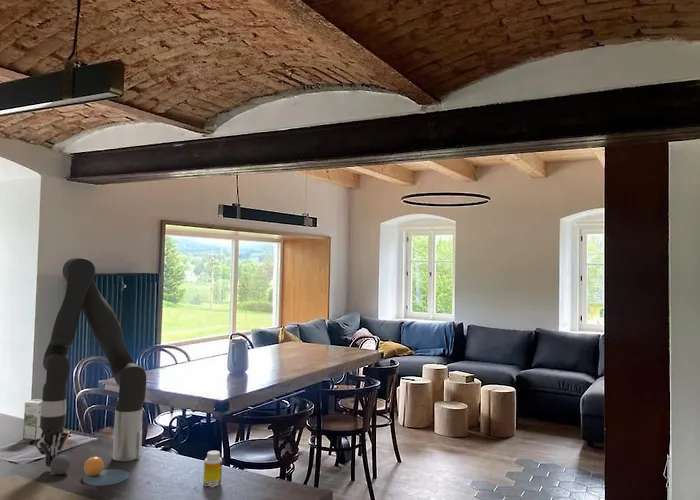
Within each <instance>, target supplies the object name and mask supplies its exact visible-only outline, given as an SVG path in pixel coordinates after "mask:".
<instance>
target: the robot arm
mask: <svg viewBox="0 0 700 500" xmlns="http://www.w3.org/2000/svg"><path fill="white" fill-rule="evenodd" d="M62 275H63V278H64V280H65V282H66V289H65V295H64V298H63V301H62V303H61V305H60V308H59V309H58V313H57V315H56V316H55V317H56V318H55V320H54V323H53V327H52V332H51V334H50V335H51V336H50V340H49V343H48V345H47V347H46V350H45V353H44V355H43V361H42V366H43V369H44V370H45V371H46V374H45V383H44V384H43V388H42V399H41V400H42V405H41V416H40V428H41V429H42V434H41V438H40V439H39V440H38V441H35V442H34V446H35V447H36V449H37V450H38V452H39V453H40V454H41V455H42V456H45V467H49V468H50V464H51V461H52V460H53V459H54V458H55V457H56V456H57V454H58V451H61V450H62V448H63V446H64V444H65V441H66V440H67V437H68V436H69V434H68V432H64V427H66V418H67V386H68V385H67V384H68V381H69V375H70V370H71V369H70V368H71V362H70V359H69V357H68V356H67V355H68V352H69V349H70V346H72V345H73V343H74V340H75V336H76V333H77V329H78V324H79V320H80V316H81V311H82V312H83V313H82V314H83V315H84V318H85V319H86V322H87V324H88V327H89V329H90V331H91V333H92V335H93V336H94V338H95V340H96V342H97V343H98V346H99V348H100V349H101V350H102V352H103V354H104V355H105V357H106V359H107V361H108V362H107V363H108V364H109V366H110V369H111V372H112V376H113V378H114V381H115V383H116V384H117V385H118V386H119V387H118V398H117V400H116V402H115V404H114V407H115V408H114V424H113V425H114V426H113V440H112V442H113V445H112V460H113V461H116V462H130V461H135V459H136V460H139V459H141V455H142V445H143V444H142V442H143V427H142V426H143V409H144V403H145V400H146V399H145V398H146V391H147V374H146V371H145V369H144V368H143V367H142V366H140V365H137V364H136V362H135V361H134V359H133V357H132V356H131V355H130V352H129V350H128V349H127V346H126V341H125V337H124V333H123V327H122V325H121V323H120V322H119V319H118V316H117V315H116V313H115V311H114V310H113V308H112V307H111V305H110V304H109V303H108V301H107V300H106V298H104V296H103V295H102V294H101V292H100V290H99V289H98V286H97V284H96V282H95V279H94V277H95V275H96V267H95V264H94V263H93V262H92V261H91V260H90V259H89V258H86V257H73V258H70V259H68V260H66V261H65V263H64V264H63V267H62Z"/></svg>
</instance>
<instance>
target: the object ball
mask: <svg viewBox="0 0 700 500" xmlns="http://www.w3.org/2000/svg"><path fill="white" fill-rule="evenodd" d="M104 468H105V462H104V460H103V459H102V457H100V456H92V457H90V458H88V459H87V460H86V461H85V462H84V466H83V471H84V473H85V475H89V476H97V475H99V474H100V473H101V472H102V471H103V470H105V469H104Z"/></svg>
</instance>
